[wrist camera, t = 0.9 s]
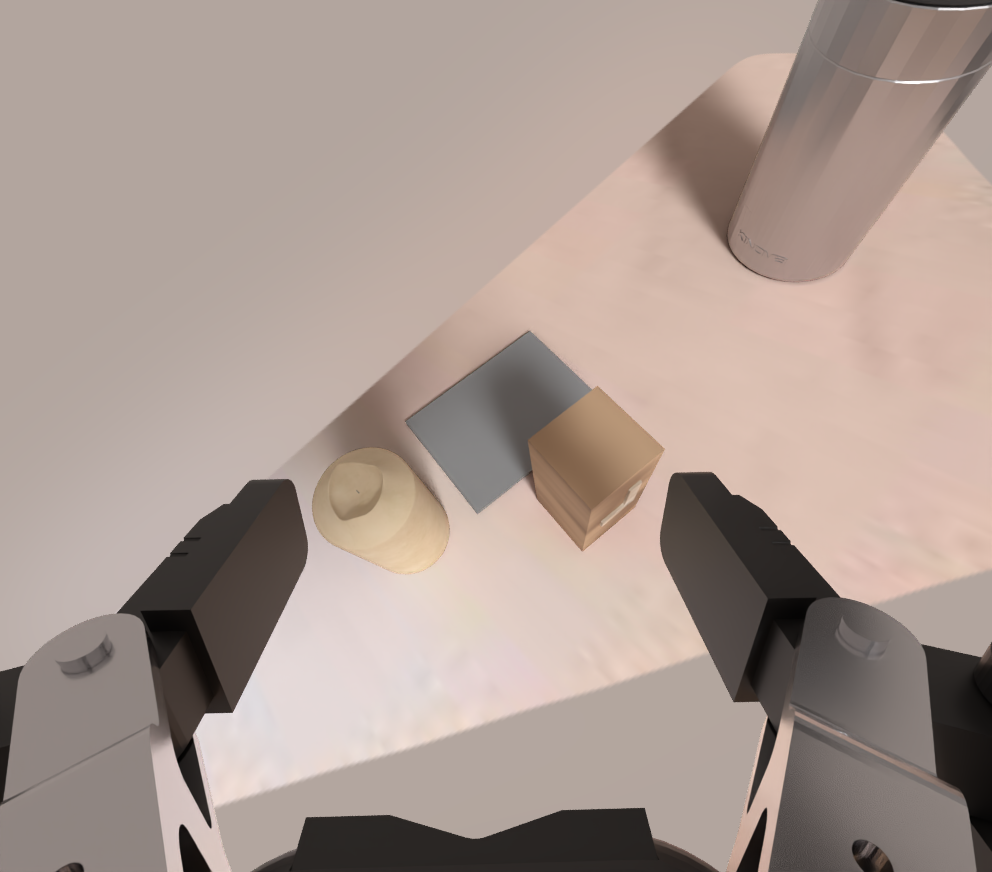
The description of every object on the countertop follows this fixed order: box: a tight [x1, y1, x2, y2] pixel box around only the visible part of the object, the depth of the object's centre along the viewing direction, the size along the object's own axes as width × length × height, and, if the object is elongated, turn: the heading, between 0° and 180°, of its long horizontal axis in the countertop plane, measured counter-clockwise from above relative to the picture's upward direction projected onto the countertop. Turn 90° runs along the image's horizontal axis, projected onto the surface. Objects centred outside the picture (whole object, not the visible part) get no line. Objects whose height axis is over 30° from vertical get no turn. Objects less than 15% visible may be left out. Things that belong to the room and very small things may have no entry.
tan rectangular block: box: [528, 386, 665, 551], centre depth 27 cm, size 4×5×10 cm
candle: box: [312, 447, 450, 574], centre depth 28 cm, size 6×6×10 cm
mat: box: [405, 331, 592, 514], centre depth 35 cm, size 12×9×1 cm
